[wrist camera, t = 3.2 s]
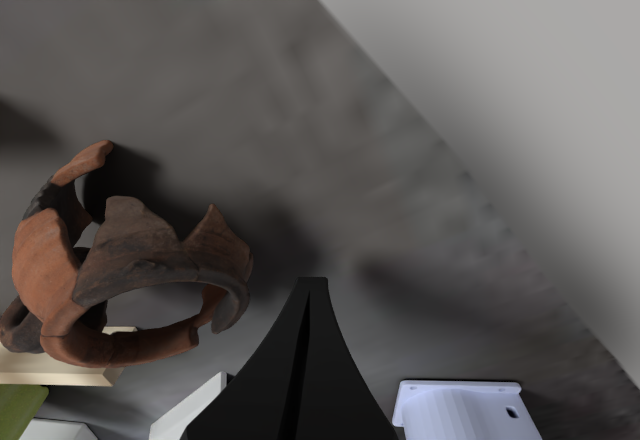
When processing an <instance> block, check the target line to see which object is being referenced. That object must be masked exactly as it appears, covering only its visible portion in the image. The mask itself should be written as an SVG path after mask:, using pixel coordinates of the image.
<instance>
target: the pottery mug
mask: <svg viewBox="0 0 640 440" xmlns="http://www.w3.org/2000/svg"><path fill="white" fill-rule="evenodd" d="M112 149H113V144H112V143H111V141H109V140H103V141H100V142H98V143H95V144H93V145H91V146H89V147H87V148H85V149H84V150H82V151H81V152H80V153H78V154H77V155H76V156H75V157H74V158H73V159H72V160H71V162H70V163H68V164H67V165H65V166H64V167H62V168H60V169H59V170H58V171H57V172H56V174H55V175H53V176H51V177H50V178H49V180H48V181H47V183H46V184H45V185H44V186H43V187H42V188H41V190H40V191H39V192H38V193H37V194H36V196H35V197H34V198H33V199H32V201H31V205H30V206H29V207H28V209H27V210H26V212H25V214H24V216H23V219H22V221H21V222H20V224H19V226H18V229H17V231H16V234H15V240H14V241H15V242H14V248H13V253H12V259H13V267H12V278H13V282H14V284H15V288H16V290H17V291H18V292H19V296H17V297H16V299H15V300H14V301H13V302H12V303H11V304H10V306H9V307H8V308H7V310H6V311H5V312H4V313H3V315H2V317H1V319H0V342H1V343H2V345H3V347H5V348H6V349H7V350H8V351H10V352H13V353H25V352H27V353H32V354H40V353H45V352H46V353H47V354H48V355H49V356H50V357H52V358H53V359H55V360H58V361H61V362H64V363H67V364H70V365H74V366H80V367H86V368H120V367H126V366H131V365H139V364H144V363H148V362H153V361H156V360H159V359H164V358H167V357H171V356H174V355H177V354H180V353H183V352H186V351H188V350H190V349H193V348H195V347H196V346H198V344H199V336H198V333H197V330H198V328H199V327H201V326H202V325H204V324H206V323H208V322H210V321H211V320H212V324H211V330H212V333H213V334H218V333H220V332H221V331H224V330H226V329H229V328H230V327H232V326H233V325H234V324H235V323H236V322H237V321H238V320H239V319H240V318H241V316H242V315H243V314H244V312H245V311H246V309H247V307H248V304H249V300H250V294H249V292H248V291H249V289H248V286H247V281H248V279H249V277H250V275H251V272H252V268H253V254H252V253H251V252H250V248H249V246H248V245H247V244H246V243H245V242H244V241H243V240H241V239H240V238H238V237H237V236H236V235H235V234H234V233H233V232H232V231H231V229H230V228H229V226H228V225H227V224H226V222H225V220H224V217H223V215H222V214H221V212H220V211H219V210H218V208H217V207H216V205H215V204H210V205H209V207H208V211H207V213H206V215H205V216H204V218H203V219H202V221H201V222H199V223H198V224H197V226H196V227H195V228H194V229H193V230H192V231H191V232H190V233H189V235H188V236H187V237H186V238H185V239H184V240H183V241H180V240H179V239H178V237H177V235H176V232H175V230H174V228H173V227H172V226H171V225H170V224H169V223H168V222H167V221H166V220H164V219H163V218H161V217H160V216H158V215H157V214H155V213H153V212H152V211H150V210H149V209H148V208H147V207H146V206H145V205H144V203H143V202H142V201H140V200H139V199H137V198H134V197H128V196H112V197H109V198H108V199H107V200H106V211H105V218H106V220H105V222H104V223H103V224H102V225H101V226H100V228H99V229H98V231H97V233H96V235H95V238H94V242H93V246H92V248H85V247H75V248H73V247H74V245H75V244H76V243H77V241H78V240H79V239H80V237H81V234H82V232H83V230H84V229H85V228H86V227H87V226H88V225H89V224H90V223H91V222H92V219H93V218H92V216H91V215H90V214H89V213H88V212H87V211H86V210H85V209H84V208H83V207H82V205H81V204H80V202H79V201H78V199H77V196H76V192H75V185H74V181H75V179H76V178H78V177H80V176H82V175H84V174H86V173H89V172H90V171H93V170H95V169H97V168H100V167H102V166H103V165H104V163H105V156H106V155H107V154H109V153H110V152H111V150H112ZM178 281H180V282H187V281H191V282H203V283H207V285H206V286H205V287H204V289H203V290H202V298H203V306H202V309H201V311H200V313H199V314H197V315H194V316H193V317H191V318H188V319H185V320H183V321H180V322H177V323H174V324H172V325H169V326H166V327H162V328H154V329H146V330H141V331H133V332H129V331H116V332H113V333H111V334H110V335H109V334H107V333H103V332H102V331H103V329H104V326H105V325H106V323H107V315H106V308H107V302H108V299H110V298H112V297H114V296H116V295H119V294H121V293H124V292H128V291H131V290H134V289H138V288H142V287H147V286H152V285H157V284H162V283H170V282H178Z"/></svg>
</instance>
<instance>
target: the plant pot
mask: <svg viewBox="0 0 640 440" xmlns="http://www.w3.org/2000/svg"><path fill="white" fill-rule="evenodd" d="M48 394H49V390H48V388H47V387H46V386H41V385H39V384H0V440H19V439H20V437H21V436H22V434H23V433H24V431H25V430H26V428H27V426H28V425H29V423H30V422H31V420H32V419H33V417H34V416H35V414H36V413H37V411H38V410H39V408H40V406H41V405H42V403H43V402H44V400H45V399H46V397H47V396H48Z"/></svg>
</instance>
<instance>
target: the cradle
mask: <svg viewBox="0 0 640 440" xmlns="http://www.w3.org/2000/svg"><path fill="white" fill-rule="evenodd" d="M116 331H129V332H133V331H138V330H137V329H136V327H104V329H103V331H102V332H103V333H107V334H109V335H110V334H111V333H113V332H116ZM124 368H125V367H120V368H86V367H80V366H74V365H70V364H67V363H64V362H61V361H58V360H55V359H53V358H52V357H50V356H49V355H48V354H47V353H46V352H45V353H40V354H32V353H27V352H25V353H13V352H10V351H8V350H7V349H6V348H5V347H3V345H2V343H1V342H0V384H39V385H83V386H113V385H114V384H115V382H116V380H117V379H118V377H119V376H120V374H121V373H122V371H123V370H124Z"/></svg>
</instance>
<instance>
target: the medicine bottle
mask: <svg viewBox="0 0 640 440" xmlns="http://www.w3.org/2000/svg"><path fill="white" fill-rule="evenodd" d="M19 440H98V439H97V437H96V436H95V435H94V434H93V433H92V431H91V430H90V429H89V428H88V427H87V425H86V424H85V423H78V422H68V421H59V420H49V419H39V418H33V419H32V420H31V422H30V423H29V425H28V426H27V428H26V430H25V431H24V433H23V434H22V436H21V437H20V439H19Z"/></svg>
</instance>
